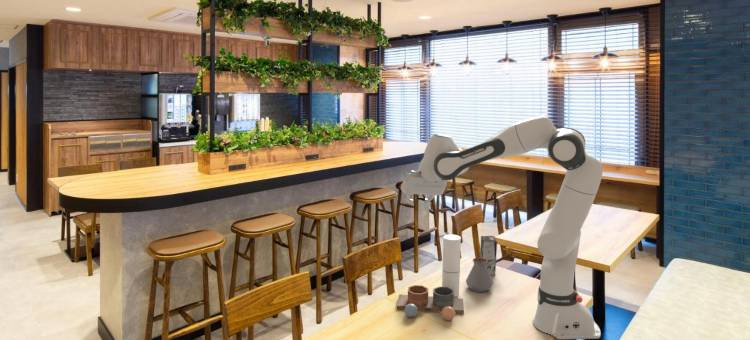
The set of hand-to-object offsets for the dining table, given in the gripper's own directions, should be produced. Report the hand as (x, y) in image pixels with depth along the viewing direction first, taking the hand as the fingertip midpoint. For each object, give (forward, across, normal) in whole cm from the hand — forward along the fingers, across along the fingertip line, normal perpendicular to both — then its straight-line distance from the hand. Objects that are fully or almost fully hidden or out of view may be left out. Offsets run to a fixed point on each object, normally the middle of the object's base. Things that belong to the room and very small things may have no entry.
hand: (417, 203), depth 181 cm
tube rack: (+35, +6, -21) cm, 41 cm away
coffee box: (+31, +51, -8) cm, 61 cm away
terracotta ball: (+30, +4, -32) cm, 44 cm away
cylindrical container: (+34, +20, -17) cm, 43 cm away
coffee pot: (+30, +38, -21) cm, 53 cm away
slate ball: (+34, -6, -23) cm, 41 cm away
